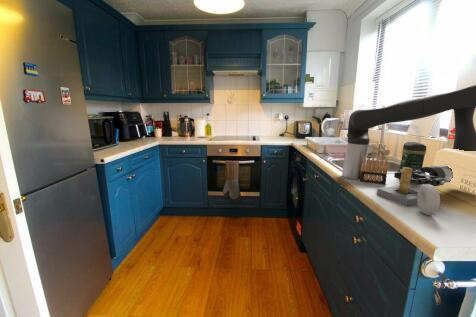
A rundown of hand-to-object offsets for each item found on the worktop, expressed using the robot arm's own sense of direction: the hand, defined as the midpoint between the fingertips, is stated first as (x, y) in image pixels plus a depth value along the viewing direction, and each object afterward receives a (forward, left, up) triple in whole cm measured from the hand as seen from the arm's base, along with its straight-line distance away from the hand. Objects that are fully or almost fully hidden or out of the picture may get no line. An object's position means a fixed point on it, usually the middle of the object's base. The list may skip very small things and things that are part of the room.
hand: (406, 178), depth 86 cm
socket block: (0, 0, -8) cm, 8 cm away
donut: (+12, -6, -8) cm, 16 cm away
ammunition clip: (-18, +5, -8) cm, 20 cm away
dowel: (0, 0, -8) cm, 8 cm away
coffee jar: (-16, +26, -8) cm, 31 cm away
